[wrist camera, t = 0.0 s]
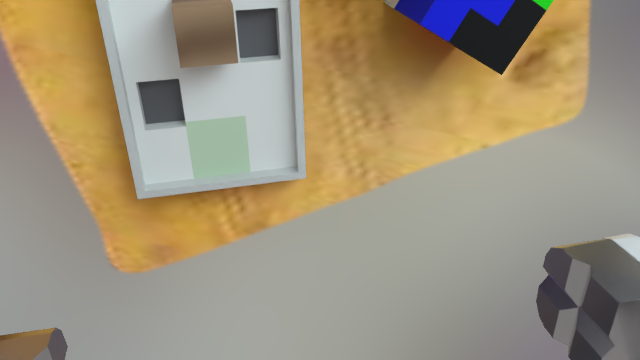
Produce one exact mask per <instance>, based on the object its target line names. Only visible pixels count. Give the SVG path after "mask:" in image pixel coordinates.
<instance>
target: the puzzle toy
mask: <svg viewBox="0 0 640 360" xmlns="http://www.w3.org/2000/svg"><path fill="white" fill-rule="evenodd" d="M552 2H553V0H385V1H384V3H385V4H387V5H389V6H390V7H392V8H393V9H395V10H397V11H398V12H400V13H401V14H403V15H405V16H406V17H408V18H410V19H411V20H413V21H414V22H416V23H418V24H419V25H421V26H422V27H424V28H426V29H427V30H429V31H430V32H432V33H434V34H435V35H437V36H439V37H440V38H442V39H443V40H445V41H447V42H448V43H450V44H451V45H453V46H455V47H456V48H458V49H460V50H461V51H463V52H465V53H466V54H468V55H470V56H471V57H473V58H475V59H476V60H478V61H479V62H481V63H483V64H484V65H486V66H488V67H489V68H491V69H493V70H494V71H496V72H498V73H499V74H501V75H502V74H503V72H504V71H505V69H506V68H507V67H508V65H509V64H510V62H511V61H512V59H513V58H514V56H515V55H516V54H517V52H518V51H519V49H520V48H521V46H522V45H523V43H524V42H525V41H526V39H527V38H528V36H529V35H530V33H531V32H532V31H533V29H534V28H535V26H536V25H537V23H538V22H539V20H540V19H541V18H542V16H543V15H544V13H545V12H546V10H547V9H548V7H549V6H550V5H551V3H552Z"/></svg>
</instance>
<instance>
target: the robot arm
mask: <svg viewBox="0 0 640 360" xmlns="http://www.w3.org/2000/svg"><path fill="white" fill-rule="evenodd" d="M543 267H544V269H545V270H546V272H547V273H548V276H547V277H546V279H545V280H544V281H543V282H542V283H541V284H540V285H539V288H538V294H537V299H536V303H537V308H538V313H539V317H540V319H541V321H542V323H543V325H544V327H545V329H546V330H547V331H548V332H549V334H550V335H551V336H552V338H554V339H556V340H558V341H560V342H562V343H564V344H566V345H568V346H569V350H568V357H569V358H570V360H640V238H639V237H637V236H635V235H631V234H623V235H618V236H612V237H607V238H603V239H600V240H593V241H587V242H581V243H575V244H570V245H563V246H558V247H552V248H550V250H549V251H548V253H547V254H546V256H545V261H544V265H543ZM67 347H68V346H67V344H66V341H65V338H64V336H63V333H62V331H61V330H60V329H58V328H50V329H43V330H36V331H29V332H22V333H15V334H8V335H1V336H0V360H65V356H66V351H67Z"/></svg>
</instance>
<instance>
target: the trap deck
mask: <svg viewBox="0 0 640 360" xmlns="http://www.w3.org/2000/svg"><path fill="white" fill-rule="evenodd" d="M231 2H232V4H233V12H234V23H235V33H236V44H237V54H238V63H234V64H223V65H211V66H199V67H187V68H180V62H179V55H178V49H177V42H176V35H175V28H174V22H173V15H172V0H96V5H97V10H98V14H99V19H100V24H101V28H102V33H103V38H104V43H105V47H106V52H107V57H108V61H109V66H110V71H111V76H112V80H113V85H114V90H115V94H116V99H117V104H118V109H119V113H120V118H121V123H122V127H123V132H124V137H125V141H126V146H127V151H128V156H129V160H130V165H131V170H132V174H133V179H134V184H135V189H136V193H137V198H138V199H144V198H152V197H160V196H168V195H176V194H184V193H192V192H200V191H208V190H216V189H224V188H232V187H240V186H248V185H256V184H264V183H272V182H280V181H288V180H296V179H304V178H306V160H305V134H304V108H303V82H302V56H301V30H300V4H299V0H231Z"/></svg>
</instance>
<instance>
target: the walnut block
mask: <svg viewBox="0 0 640 360" xmlns="http://www.w3.org/2000/svg"><path fill="white" fill-rule="evenodd" d="M172 15H173V22H174V28H175V35H176V42H177V49H178V55H179V62H180V68H187V67H199V66H211V65H223V64H234V63H238V54H237V44H236V33H235V23H234V12H233V4H232V2H231V0H172Z"/></svg>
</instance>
